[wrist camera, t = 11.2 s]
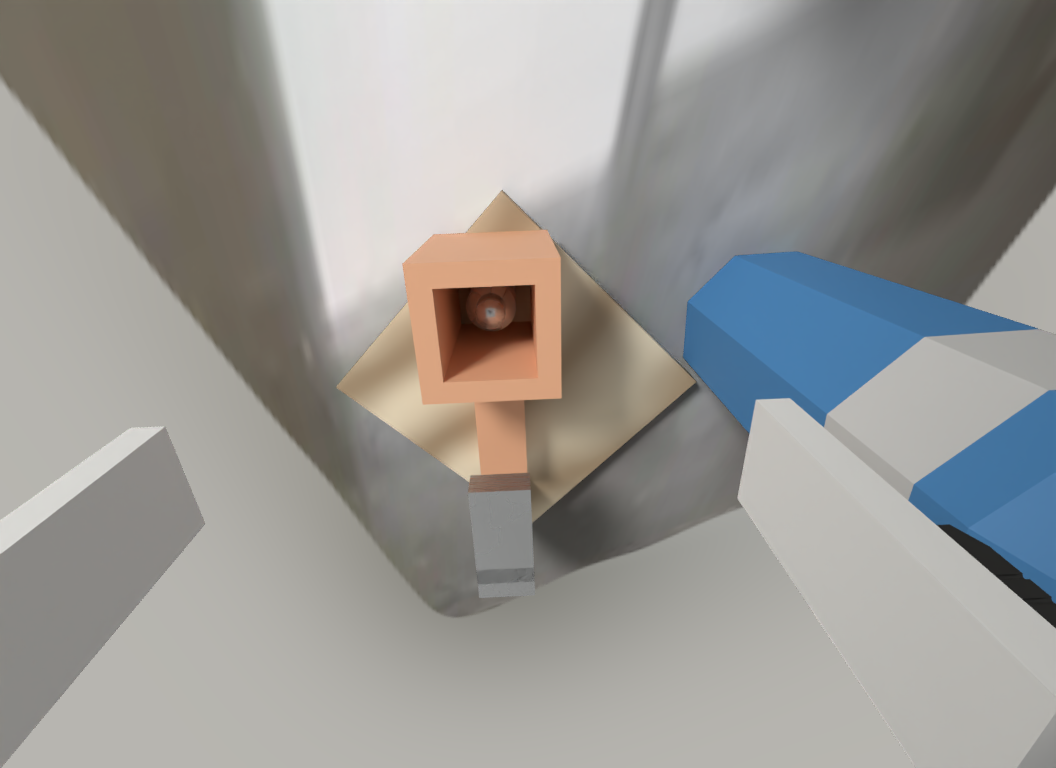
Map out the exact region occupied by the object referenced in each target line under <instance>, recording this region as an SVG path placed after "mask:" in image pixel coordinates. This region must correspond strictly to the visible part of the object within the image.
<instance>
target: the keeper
mask: <svg viewBox="0 0 1056 768" xmlns="http://www.w3.org/2000/svg"><path fill="white" fill-rule="evenodd" d="M468 497H469V506H470V515H471V525H472V534H473V543H474V552H475V562H476V571H477V580H478V589H479V598H486V597H506V596H526V595H535V585H534V560H533V535H532V511H531V487H530V473H511V474H490V475H470V482H469V489H468Z"/></svg>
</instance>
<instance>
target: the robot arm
mask: <svg viewBox="0 0 1056 768" xmlns="http://www.w3.org/2000/svg"><path fill="white" fill-rule="evenodd" d="M737 499H738V500H739V502H740V503H741V505H742V506H743V508H744V509H745V511H746V512H747V514H748V515H749V517H750V518H751V520H752V521H753V523H754V524H755V526H756V527H757V529H758V530H759V532H760V533H761V535H762V536H763V538H764V539H765V541H766V542H767V544H768V545H769V547H770V548H771V550H772V551H773V553H774V555H775V556H776V558H777V559H778V561H779V562H780V564H781V565H782V567H783V568H784V570H785V571H786V572H787V574H788V576H789V577H790V578H791V580H792V582H793V583H794V585H795V586H796V588H797V589H798V591H799V592H800V594H801V595H802V597H803V598H804V600H805V601H806V603H807V604H808V606H809V607H810V609H811V611H812V612H813V614H814V615H815V617H816V618H817V620H818V621H819V623H820V624H821V626H822V627H823V628H824V630H825V632H826V633H827V635H828V636H829V638H830V639H831V641H832V642H833V644H834V645H835V647H836V648H837V650H838V651H839V653H840V654H841V656H842V657H843V659H844V660H845V662H846V663H847V665H848V666H849V668H850V670H851V671H852V673H853V674H854V676H855V677H856V678H857V680H858V682H859V683H860V685H861V686H862V688H863V689H864V691H865V692H866V694H867V695H868V697H869V698H870V700H871V701H872V703H873V704H874V706H875V707H876V709H877V710H878V712H879V713H880V715H881V716H882V718H883V719H884V721H885V722H886V724H887V725H888V727H889V728H890V730H891V731H892V733H893V735H894V736H895V738H896V739H897V741H898V742H899V744H900V745H901V747H902V748H903V750H904V751H905V753H906V754H907V756H908V757H909V759H910V760H911V762H912V763H913V765H914V766H915V768H1056V603H1054V602H1053V601H1052V597H1051V596H1050V595H1049V594H1047V593H1046V592H1045V591H1044V590H1042V589H1041V588H1040V587H1039V586H1038V585H1036V584H1035V583H1034V582H1033V581H1031V580H1030V579H1025V578H1024V577H1023V573H1022V572H1020V571H1019V570H1018V569H1017V568H1015V567H1014V566H1013V565H1012V564H1011V563H1009V562H1008V561H1007V560H1006V559H1004V558H1003V557H1002V556H1001V555H1000V554H998V553H997V552H996V551H995V550H993V549H992V548H991V547H990V546H988V545H986V544H984V543H983V542H981V541H979V540H977V539H975V538H973V537H972V536H970V535H968V534H966V533H964V532H963V531H961V530H959V529H957V528H955V527H953V526H952V525H950V524H946V525H936V524H935V523H933V522H932V521H931V520H930V519H929V518H928V517H926V516H925V515H924V514H923V513H922V512H921V511H920V510H918V509H917V508H916V507H915V506H914V505H913V504H911V503H910V502H909V501H908V500H907V499H906V498H905V497H903V496H902V495H901V494H900V493H899V492H898V491H896V490H895V489H894V488H893V487H892V486H891V485H890V484H888V483H887V482H886V481H885V480H884V479H883V478H881V477H880V476H879V475H878V474H877V473H876V472H875V471H873V470H872V469H871V468H870V467H869V466H868V465H866V464H865V463H864V462H863V461H862V460H861V459H860V458H858V457H857V456H856V455H855V454H854V453H853V452H851V451H850V450H849V449H848V448H847V447H846V446H845V445H843V444H842V443H841V442H840V441H839V440H838V439H836V438H835V437H834V436H833V435H832V434H831V433H829V432H828V431H827V430H826V429H825V428H824V427H823V426H821V425H820V424H819V423H818V422H817V421H816V420H814V419H813V418H812V417H811V416H810V415H809V414H808V413H806V412H805V411H804V410H803V409H802V408H801V407H799V406H798V405H797V404H796V403H795V402H794V401H793V400H791V399H790V398H782V399H760V400H756V402H755V407H754V413H753V418H752V423H751V429H750V434H749V439H748V445H747V450H746V455H745V461H744V466H743V471H742V477H741V482H740V487H739V493H738V498H737ZM204 525H205V522H204V519H203V517H202V515H201V512H200V510H199V507H198V505H197V502H196V500H195V498H194V495H193V493H192V490H191V488H190V486H189V483H188V481H187V478H186V476H185V473H184V471H183V468H182V466H181V464H180V461H179V459H178V456H177V454H176V451H175V449H174V447H173V444H172V442H171V439H170V437H169V435H168V432H167V430H166V427H165V426H164V427H143V428H130V429H128V430H127V431H125V432H124V433H123V434H121V435H120V436H118V437H117V438H115V439H114V440H113V441H111V442H110V443H108V444H107V445H106V446H104V447H103V448H101V449H100V450H99V451H97V452H96V453H94V454H93V455H91V456H90V457H89V458H87V459H86V460H84V461H83V462H82V463H80V464H79V465H78V466H76V467H75V468H73V469H72V470H70V471H69V472H67V473H66V474H65V475H63V476H62V477H60V478H59V479H58V480H56V481H55V482H53V483H52V484H51V485H49V486H48V487H46V488H45V489H43V490H42V491H41V492H39V493H38V494H36V495H35V496H34V497H32V498H31V499H29V500H28V501H27V502H25V503H24V504H22V505H21V506H20V507H18V508H17V509H15V510H14V511H12V512H11V513H10V514H8V515H7V516H5V517H4V518H3V519H1V520H0V768H1V767H2V766H3V764H5V763H6V761H7V760H8V759H9V758H10V756H11V755H12V754H13V753H14V752H15V751H16V749H17V748H18V747H19V746H20V745H21V743H22V742H23V741H24V740H25V739H26V737H27V736H28V735H29V734H30V733H31V731H32V730H33V729H34V728H35V727H36V726H37V724H38V723H39V722H40V721H41V719H42V718H43V717H44V716H45V715H46V714H47V712H48V711H49V710H50V709H51V708H52V706H53V705H54V704H55V703H56V702H57V700H58V699H59V698H60V697H61V696H62V695H63V693H64V692H65V691H66V690H67V689H68V687H69V686H70V685H71V684H72V683H73V681H74V680H75V679H76V678H77V676H78V675H79V674H80V673H81V672H82V671H83V669H84V668H85V667H86V666H87V665H88V663H89V662H90V661H91V660H92V659H93V657H94V656H95V655H96V654H97V653H98V651H99V650H100V649H101V648H102V647H103V646H104V644H105V643H106V642H107V641H108V640H109V638H110V637H111V636H112V635H113V634H114V632H115V631H116V630H117V629H118V628H119V626H120V625H121V624H122V623H123V622H124V620H125V619H126V618H127V617H128V615H129V614H130V613H131V612H132V611H133V610H134V608H135V607H136V606H137V605H138V604H139V603H140V601H141V600H142V599H143V598H144V596H145V595H146V594H147V593H148V592H149V590H150V589H151V588H152V587H153V586H154V584H155V583H156V582H157V581H158V580H159V579H160V577H161V576H162V575H163V574H164V573H165V571H166V570H167V569H168V568H169V567H170V566H171V564H172V563H173V562H174V561H175V560H176V558H177V557H178V556H179V555H180V554H181V552H182V551H183V550H184V549H185V548H186V546H187V545H188V544H189V543H190V542H191V540H192V539H193V538H194V537H195V536H196V534H197V533H198V532H199V531H200V529H201V528H202V527H203V526H204Z"/></svg>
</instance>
